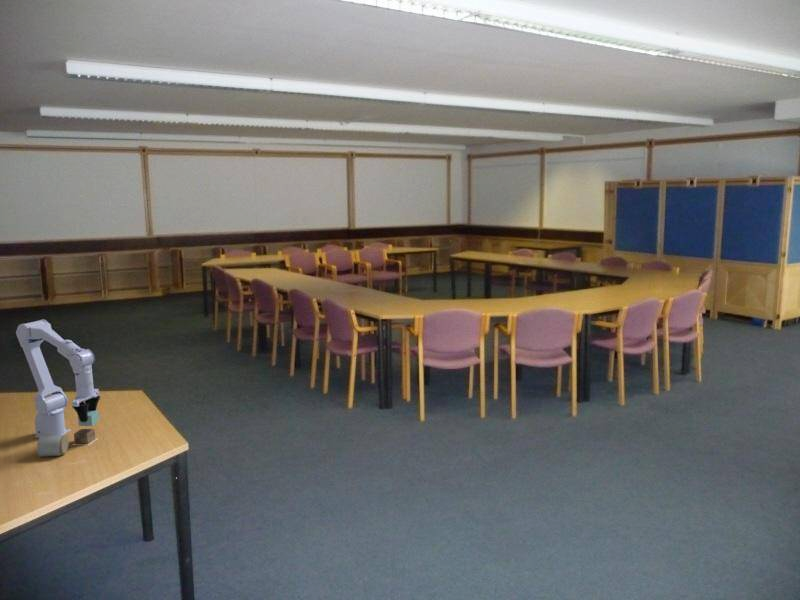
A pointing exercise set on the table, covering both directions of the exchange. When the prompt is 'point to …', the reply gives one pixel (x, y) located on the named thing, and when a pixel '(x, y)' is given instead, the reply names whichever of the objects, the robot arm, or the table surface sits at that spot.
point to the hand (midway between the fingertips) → (88, 418)
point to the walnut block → (84, 436)
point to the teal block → (90, 419)
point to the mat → (86, 444)
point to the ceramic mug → (52, 445)
